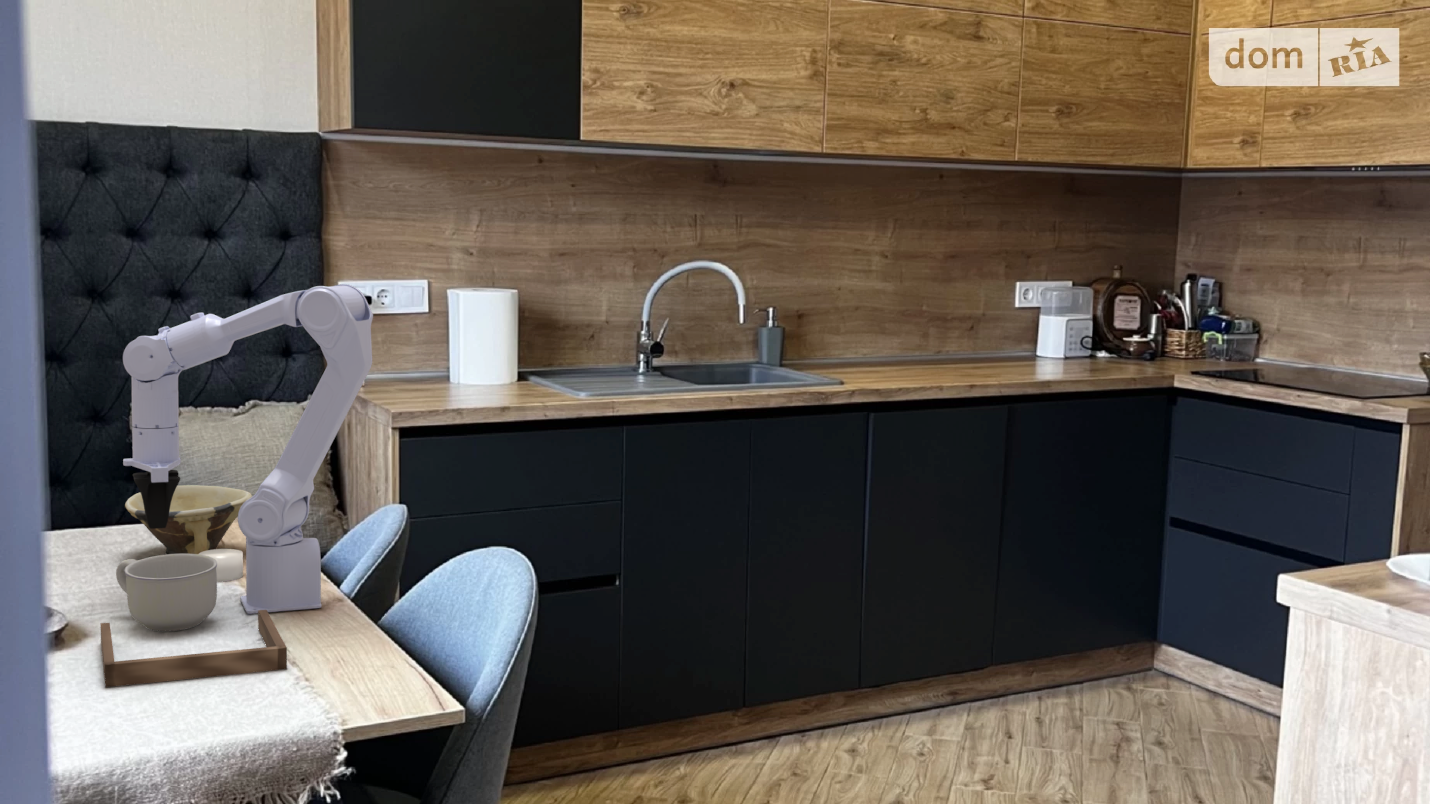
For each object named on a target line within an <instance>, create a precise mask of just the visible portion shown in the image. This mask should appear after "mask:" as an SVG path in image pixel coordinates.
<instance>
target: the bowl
mask: <svg viewBox="0 0 1430 804" xmlns="http://www.w3.org/2000/svg"><path fill="white" fill-rule="evenodd" d="M252 496H253V495H252V493H251V492H249V491H247V490H243V489H239V488H233V487H225V486H219V485H218V486H217V485H201V484H200V485H196V484H192V485H191V484H188V485H187V484H185V485H177V487H176V489H175V492H174V494H173V497H172V501H171V505H170V511H169V517H168V522H167V525H166V528H155V529H149V526H148V523H147V519H146V515H145V510H144V504H143V499H142V495H141V493H140V491H139V492H138V493H135V494H133V495H132V496H130V497H129V498H127V500H126V501H125V504H124V508H125V509H126V510H127V512H129V513H130V515H131V516H132V517H134V518H135V519H138V521H140V522H141V523H142V524H143V525H144V527H146V529H147V530H148V531H149V532H150V533H151V534H152V536H154V537H155V539H157V541H158V542H160V543H161V545H163V546H164V547H165V555H167V554H199V553H201V552H203V551H207V550H214V549H218V546H219V544H220V542H221V541H222V540H223V538H224V536H225V535H226V533H227V531H229V529H230V528H231V526H232V525H233V523H234V522H235V520H236V519H238V513H239V510H240V508H241V506H242V505H243V503H244V502H245V501H246V500H248V499H249V498H251V497H252Z"/></svg>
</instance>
